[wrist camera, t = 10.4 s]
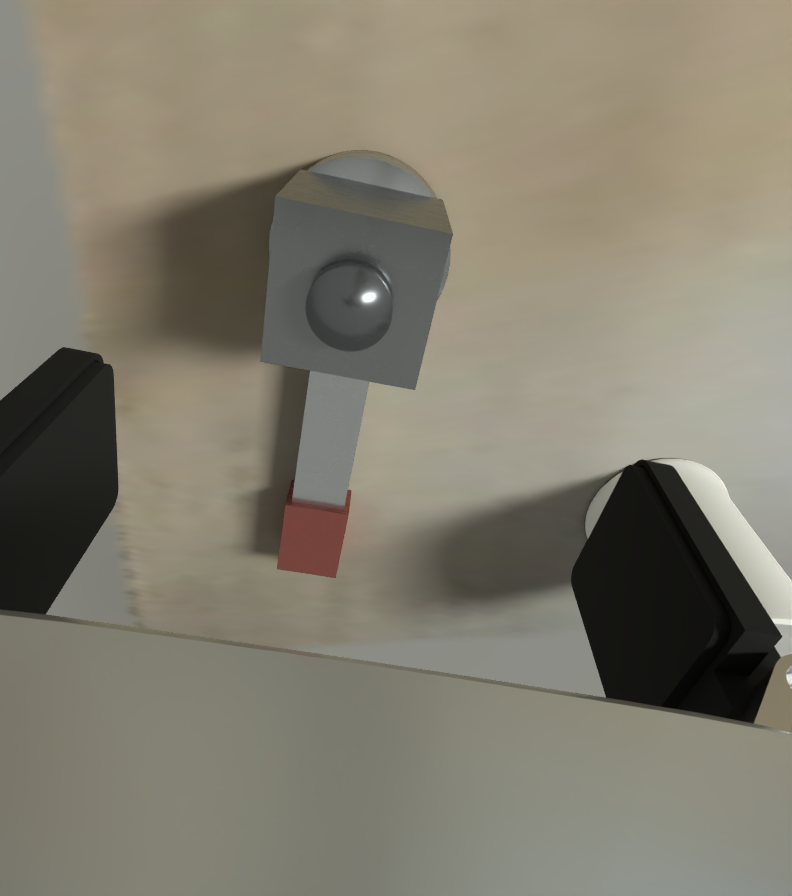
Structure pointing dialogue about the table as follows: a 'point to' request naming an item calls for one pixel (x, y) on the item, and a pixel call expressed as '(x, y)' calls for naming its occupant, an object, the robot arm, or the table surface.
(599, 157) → the table surface
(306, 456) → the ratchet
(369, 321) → the cube with domed knob
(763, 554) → the mug
